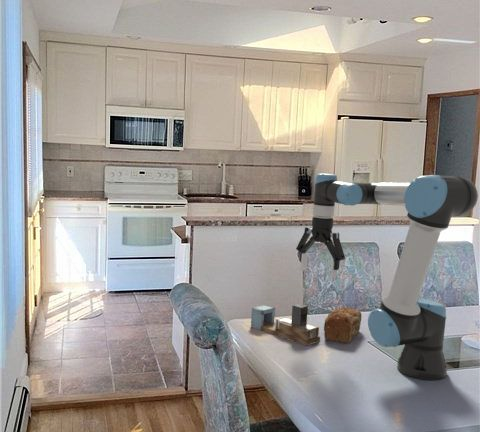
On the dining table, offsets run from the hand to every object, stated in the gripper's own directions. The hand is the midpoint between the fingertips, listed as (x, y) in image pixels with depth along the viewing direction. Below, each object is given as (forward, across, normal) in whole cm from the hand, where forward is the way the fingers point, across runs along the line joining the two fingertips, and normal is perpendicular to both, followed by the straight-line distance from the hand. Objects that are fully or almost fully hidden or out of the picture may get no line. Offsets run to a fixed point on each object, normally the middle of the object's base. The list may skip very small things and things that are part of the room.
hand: (318, 274), depth 204 cm
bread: (+25, -5, -12) cm, 28 cm away
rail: (+25, +10, +4) cm, 27 cm away
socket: (+25, +21, +5) cm, 33 cm away
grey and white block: (+23, +5, +4) cm, 24 cm away
